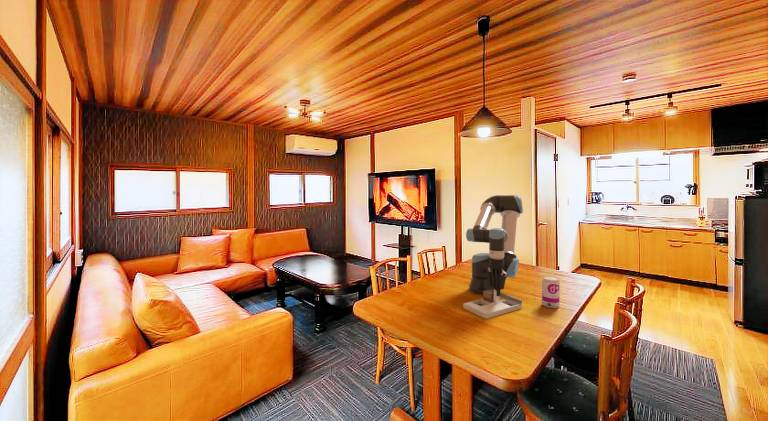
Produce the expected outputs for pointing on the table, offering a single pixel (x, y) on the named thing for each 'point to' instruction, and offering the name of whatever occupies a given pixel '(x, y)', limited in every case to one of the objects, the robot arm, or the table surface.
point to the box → (494, 306)
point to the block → (488, 296)
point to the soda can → (550, 292)
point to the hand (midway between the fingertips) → (496, 301)
